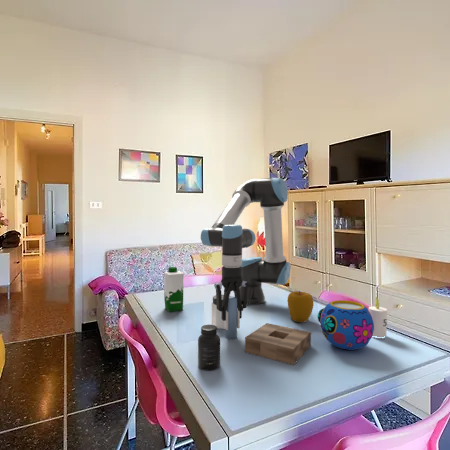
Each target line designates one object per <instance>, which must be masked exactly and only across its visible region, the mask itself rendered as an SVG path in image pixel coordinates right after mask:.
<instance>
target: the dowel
mask: <svg viewBox="0 0 450 450" xmlns="http://www.w3.org/2000/svg"><path fill="white" fill-rule="evenodd" d="M227 312H228V330H226V329H225V330H226V333H225V336H226V337H225V338H226V339H228V340H236V339H237V338H238V328H237V298H236V297H235V296H234V295H233V296H232V295H230V297H229V300H228V305H227Z"/></svg>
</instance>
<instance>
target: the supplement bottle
mask: <svg viewBox="0 0 450 450" xmlns="http://www.w3.org/2000/svg"><path fill="white" fill-rule="evenodd" d="M200 329H201V331H200V335H199V337H198V338H197V364H198V365H197V366H198V367H199V369H201V370H204V371H214V370H217V369H218V368H219V367H220V365H221V338H220V336H219V335H218V328H217V327H216V326H215V325H212V324H204V325H202V326H201V328H200Z"/></svg>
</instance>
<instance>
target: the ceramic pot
mask: <svg viewBox="0 0 450 450" xmlns="http://www.w3.org/2000/svg"><path fill="white" fill-rule="evenodd" d="M317 320H318V322H319V324H320V327H321V332H322V335H324V337H325V339H326V340H327V342H329V343H330V344H331V345H333V346H335V347H337V348H339V349H342V350H348V351H351V350H359V349H362V348H365V347H366V346H367V345H368V344H369V342H370V341H371V339H372V336H373V332H374V323H373V319H372V316H371V314H370V312H369V308H368V307H366V306H365V305H364V304H362V303H360V302H356V301H353V300H352V301H351V300H346V299H344V300H342V299H341V300H340V299H339V300H334V301H333V300H332V301H330V302H329V303H328V304H326V305H325V307H324V308H321V309H320V310H319V311H318V313H317Z"/></svg>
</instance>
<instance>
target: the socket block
mask: <svg viewBox="0 0 450 450" xmlns="http://www.w3.org/2000/svg"><path fill="white" fill-rule="evenodd" d="M311 339H312V332H311V331H308V330H302V329H298V328H293V327H289V326H282V325H278V324H274V323H268V322H266V323H265V324H263V325H262V326H260V327H259V328H258V329H257V328H256V329H255V330H254V331H252V332H251V333H249V334H248V335H247V336H245V338H244V352H245V353H247V354H251V355H255V356H258V357H262V358H264V359H265V358H266V359H269V360H273V361H275V362H281V363H284V364H288V365H291V366H295V364H296V363H297V362H298V361H299V360H300V359H301V357H303V355H305V353H307V351H308V350H309V349H310V348H311V346H312V345H311V344H312V342H311V341H312V340H311ZM308 348H309V349H308ZM307 349H308V350H307ZM298 359H299V360H298ZM297 360H298V361H297ZM296 361H297V362H296Z"/></svg>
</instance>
